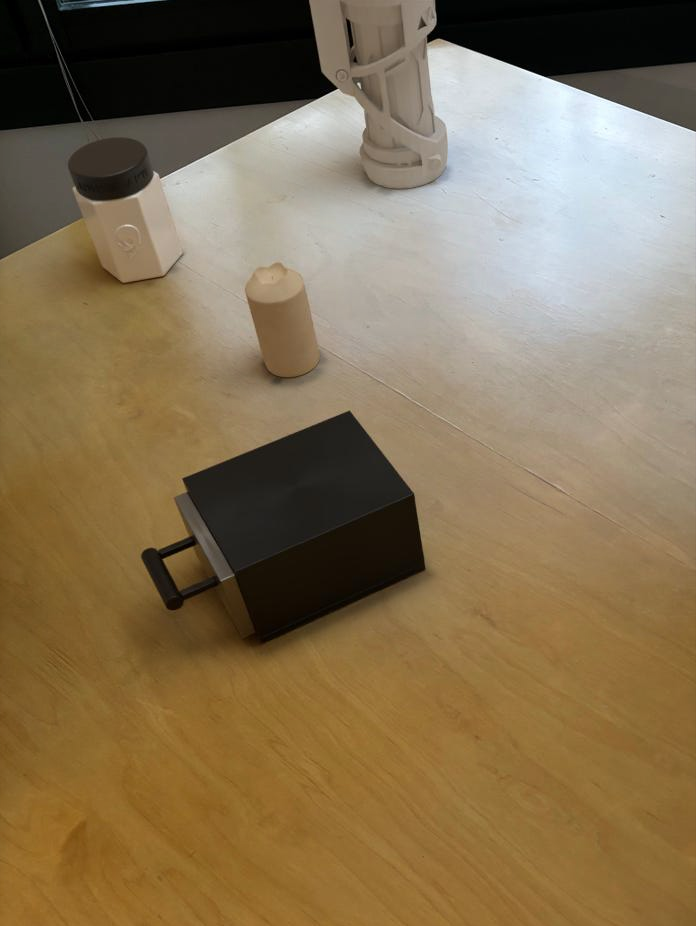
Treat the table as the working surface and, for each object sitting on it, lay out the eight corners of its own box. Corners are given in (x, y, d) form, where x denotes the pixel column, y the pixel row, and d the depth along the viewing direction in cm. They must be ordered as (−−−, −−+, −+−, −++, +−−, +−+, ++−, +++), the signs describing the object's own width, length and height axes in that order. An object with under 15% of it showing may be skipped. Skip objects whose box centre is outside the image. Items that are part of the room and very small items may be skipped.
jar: (102, 289, 116) (61, 183, 107) (103, 248, 121) (63, 144, 112) (184, 274, 117) (151, 168, 107) (182, 234, 122) (149, 130, 112)
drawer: (191, 661, 82) (165, 605, 77) (148, 576, 88) (121, 518, 83) (396, 568, 87) (385, 509, 82) (342, 493, 93) (329, 433, 88)
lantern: (447, 141, 131) (425, -95, 111) (452, 185, 125) (430, -57, 105) (341, 152, 131) (301, -82, 112) (341, 197, 125) (298, -43, 105)
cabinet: (262, 644, 84) (235, 571, 77) (210, 552, 91) (181, 478, 84) (426, 569, 88) (414, 493, 81) (365, 486, 94) (349, 409, 88)
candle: (255, 372, 106) (230, 283, 98) (281, 339, 109) (259, 250, 101) (304, 382, 104) (283, 293, 96) (329, 348, 107) (311, 259, 99)
